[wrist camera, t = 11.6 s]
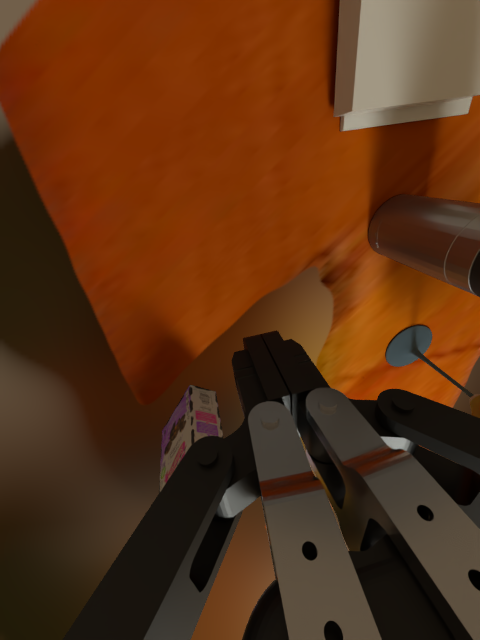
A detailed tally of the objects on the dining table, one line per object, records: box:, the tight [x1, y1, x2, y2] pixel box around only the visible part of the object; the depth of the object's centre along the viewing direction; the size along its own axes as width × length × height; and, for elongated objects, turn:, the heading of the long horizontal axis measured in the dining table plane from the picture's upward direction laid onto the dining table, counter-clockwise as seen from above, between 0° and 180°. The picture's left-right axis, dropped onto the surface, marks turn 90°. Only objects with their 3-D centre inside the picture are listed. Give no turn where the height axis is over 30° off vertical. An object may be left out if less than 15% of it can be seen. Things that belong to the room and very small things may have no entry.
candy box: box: [159, 385, 223, 493], centre depth 46 cm, size 14×6×16 cm, turn 149°
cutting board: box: [340, 97, 472, 131], centre depth 30 cm, size 18×15×1 cm
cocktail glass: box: [386, 325, 480, 418], centre depth 47 cm, size 18×18×25 cm
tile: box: [334, 0, 480, 117], centre depth 28 cm, size 4×12×16 cm
